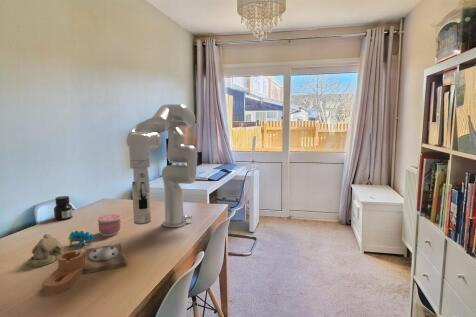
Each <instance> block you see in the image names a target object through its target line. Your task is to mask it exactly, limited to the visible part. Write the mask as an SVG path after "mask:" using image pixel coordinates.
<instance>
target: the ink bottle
mask: <svg viewBox="0 0 476 317" xmlns="http://www.w3.org/2000/svg"><path fill="white" fill-rule="evenodd" d="M54 201H55V206H54V208H53V214H54V220H56V221H66V220H69V219H71V218H73V206H72V204H70V196H68V195H61V196H57V197H55V200H54Z"/></svg>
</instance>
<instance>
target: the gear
mask: <svg viewBox="0 0 476 317" xmlns="http://www.w3.org/2000/svg"><path fill="white" fill-rule="evenodd" d="M94 239H95V236H94V234H93V233H90V232H89V231H86V232H85V231H83V230H80V231H78V230H75V231H71V232H70V233H69V236H68V239H67V240H69V245H68V247H72V244H73V243H75V242H77V243H78V244H77V248H81V245H82V242H86V243H87V242H92V241H93V240H94Z"/></svg>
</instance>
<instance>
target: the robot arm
mask: <svg viewBox="0 0 476 317" xmlns="http://www.w3.org/2000/svg"><path fill="white" fill-rule="evenodd" d="M195 124H196V115H195V113H194V111H193V110H191V109H190V108H189V107H188V106H186V105H185V104H180V103H178V104H176V103H175V104H174V103H173V104H172V103H171V104H170V103H168V104H167V103H166V104H163V105H161V106H160V107H159V108H158V110H157V111H155V113H154V115H153V116H152V117H151V118H147V119H145V120H144V121H141V122H138V124H135V125H134V126H133V127H132V129H131V130H130V131H129V132H128V134H127V136H126V144H127V146H128V148H129V149H128V151H129V167H130V169H132V170H133V174H132V175H133V182H134V181H135V184H136V190H137V192H138V193H139V209H147V195H146V191H148V192H149V191H151V189H150V188H151V187H150V188H149V186H150V178H149V170H148V169H149V168H150V150H157V149H159V148H160V147H161V145H162V141H163V140H162V136H161V134H162V133H165V132H167V134H168V141H167V142H168V143H167V151H166V152H167V153H166V158H167V161H168V162H169V163H173V164H169V165H168V164H167V165H165V166H164V167H163V168H162V170H161V178H162V181H163V188H164V190H163V191H164V192H163V193H164V217H165V218H164V220H163V221H162V226H163V227H165V228H179V227H183V226H185V225H186V224H187V220H192V219H193V215H189V214H184V192H183V188H182V187H181V185H182V184H183V185H186V184H187V185H188V184H194V183H195V180H196V177H197V164H198V150H197V148H196V146H194V145H191V144H187V145H185V143H186V142H185V140H186V136H185V134H184V132H183V131H182V130H181V129H180V128H192V127H193V126H195ZM181 164H186V165H181ZM140 188H141V189H142V192H140ZM141 193H142V194H141Z"/></svg>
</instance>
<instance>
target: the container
mask: <svg viewBox="0 0 476 317" xmlns="http://www.w3.org/2000/svg"><path fill="white" fill-rule="evenodd" d="M121 218H122V216H121V215H119V214H116V213H115V214H105V215H101V216H99V217H98V218H97V222H98V223H97V224H98V231H99V233H100V235H101V236H103V237H110V236H111V237H112V236H115V235H118V233H119V231H120V230H121Z"/></svg>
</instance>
